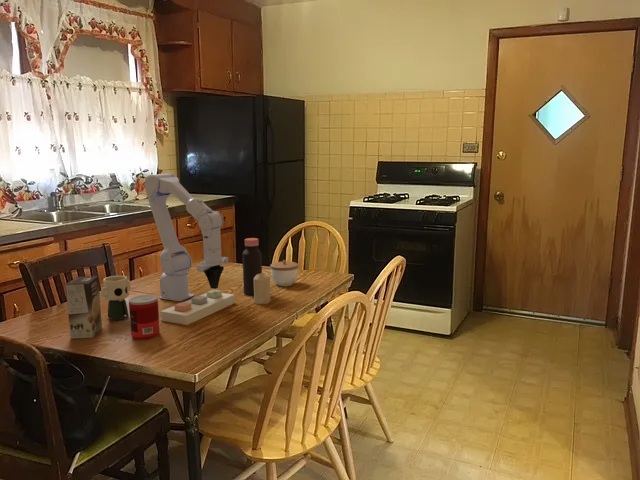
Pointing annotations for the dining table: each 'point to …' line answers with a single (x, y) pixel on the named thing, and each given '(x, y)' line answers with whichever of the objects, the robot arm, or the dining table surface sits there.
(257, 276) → the candle
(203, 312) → the button panel
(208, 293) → the sage button
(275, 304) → the dining table surface
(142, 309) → the canned food
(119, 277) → the character mug
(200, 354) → the dining table surface
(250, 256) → the bottle
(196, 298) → the slate button
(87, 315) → the coffee box
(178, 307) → the terracotta button
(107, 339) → the dining table surface
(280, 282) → the lidded jar
